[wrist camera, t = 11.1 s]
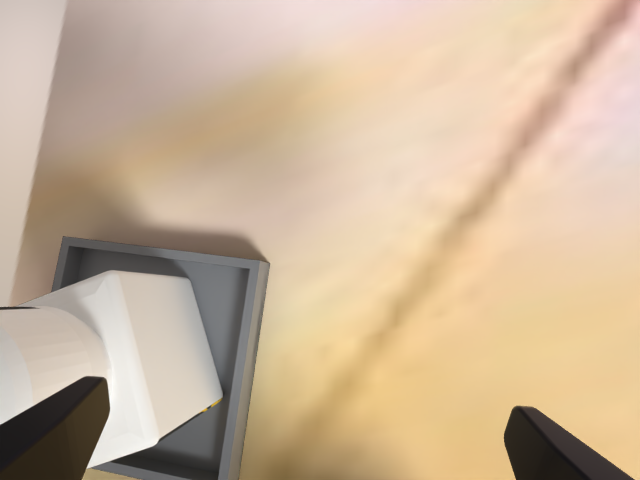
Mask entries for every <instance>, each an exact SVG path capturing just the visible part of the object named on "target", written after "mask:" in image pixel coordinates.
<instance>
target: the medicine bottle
mask: <svg viewBox="0 0 640 480" xmlns="http://www.w3.org/2000/svg"><path fill="white" fill-rule="evenodd" d="M85 376H99V377H104V378H106V380H107V383H108V391H109V400H110V413H109V417H108V420H107V422H106V424H105V427H104V429H103V431H102V434H101V436H100V438H99V441H98V443H97V445H96V448H95V450H94V452H93V454H92V457H91V459H90V461H89V464H88V466H87V468H86V469H88V468H91V467H94V466H97V465H99V464H102V463H105V462H108V461H111V460H114V459H117V458H120V457H123V456H126V455H129V454H132V453H135V452H138V451H141V450H143V449H146V448H149V447H152V446H154V445H156V444H157V443H159V442H160V441H162V440H163V439H165V438H166V437H168V436H169V435H171V434H172V433H174V432H175V431H177V430H178V429H180V428H181V427H183V426H184V425H186V424H187V423H189V422H190V421H191V420H193V419H194V418H196V417H197V416H199V415H200V414H202V413H203V412H205V411H206V410H208V409H209V408H211V407H212V406H214V405H215V404H217V403H218V402H220V401H221V400H222V398H223V391H222V388H221V384H220V381H219V378H218V374H217V371H216V367H215V364H214V360H213V357H212V353H211V350H210V346H209V343H208V340H207V336H206V333H205V329H204V326H203V322H202V319H201V315H200V312H199V308H198V305H197V302H196V298H195V295H194V291H193V288H192V284H191V281H190V280H189V279H188V278H186V277H177V276H166V275H156V274H146V273H136V272H126V271H116V270H110V271H106V272H103V273H101V274H98V275H96V276H93V277H91V278H88V279H85V280H83V281H80V282H78V283H75V284H72V285H70V286H67V287H65V288H62V289H59V290H57V291H54V292H52V293H49V294H46V295H44V296H41V297H39V298H36V299H33V300H31V301H28V302H26V303H23V304H21V305H18V306H15V307H0V425H1V424H2V423H4V422H6V421H8V420H9V419H11V418H13V417H15V416H16V415H18V414H20V413H22V412H23V411H25V410H27V409H28V408H30V407H32V406H34V405H35V404H37V403H39V402H41V401H42V400H44V399H46V398H48V397H49V396H51V395H53V394H55V393H56V392H58V391H60V390H61V389H63V388H65V387H67V386H68V385H70V384H72V383H74V382H75V381H77V380H79V379H81V378H82V377H85Z"/></svg>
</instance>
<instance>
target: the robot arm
mask: <svg viewBox="0 0 640 480" xmlns="http://www.w3.org/2000/svg"><path fill="white" fill-rule="evenodd" d="M109 413H110V400H109V391H108V383H107V380H106V378H104V377H99V376H85V377H82V378H81V379H79V380H77V381H75V382H74V383H72V384H70V385H68V386H67V387H65V388H63V389H61V390H60V391H58V392H56V393H55V394H53V395H51V396H49V397H48V398H46V399H44V400H42V401H41V402H39V403H37V404H35V405H34V406H32V407H30V408H28V409H27V410H25V411H23V412H22V413H20V414H18V415H16V416H15V417H13V418H11V419H9V420H8V421H6V422H4V423H2V424H1V425H0V480H82V478H83V475H84V473H85V471H86V468H87V466H88V464H89V461H90V459H91V457H92V454H93V452H94V450H95V448H96V445H97V443H98V441H99V438H100V436H101V434H102V431H103V429H104V427H105V424H106V422H107V420H108V417H109ZM504 443H505V447H506V450H507V453H508V456H509V459H510V463H511V466H512V469H513V472H514V475H515V478H516V480H634V479H633V478H632V477H630V476H629V475H628V474H626V473H625V472H623V471H622V470H621V469H619V468H618V467H616V466H615V465H614V464H612V463H611V462H610V461H608V460H607V459H605V458H604V457H603V456H601V455H600V454H598V453H597V452H596V451H594V450H593V449H591V448H590V447H589V446H587V445H586V444H585V443H583V442H582V441H580V440H579V439H578V438H576V437H575V436H573V435H572V434H571V433H569V432H568V431H566V430H565V429H564V428H562V427H561V426H560V425H558V424H557V423H555V422H554V421H553V420H551V419H550V418H548V417H547V416H546V415H544V414H543V413H542V412H540V411H539V410H537V409H536V408H534V407H529V406H515V407H514V408H513V409H512V411H511V414H510V417H509V420H508V423H507V426H506V429H505V433H504Z"/></svg>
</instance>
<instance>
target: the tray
mask: <svg viewBox="0 0 640 480" xmlns="http://www.w3.org/2000/svg"><path fill="white" fill-rule="evenodd" d="M269 267H270V263H266V262H263V261H260V260H252V259H243V258H235V257H227V256H219V255H211V254H203V253H195V252H187V251H179V250H170V249H162V248H154V247H146V246H138V245H130V244H122V243H114V242H106V241H97V240H89V239H81V238H73V237H65V236H63V239H62V244H61V249H60V253H59V258H58V263H57V268H56V272H55V277H54V282H53V287H52V291H51V293H52V292H54V291H57V290H59V289H62V288H65V287H67V286H70V285H72V284H75V283H78V282H80V281H83V280H85V279H88V278H91V277H93V276H96V275H98V274H101V273H103V272H106V271H110V270H116V271H126V272H136V273H146V274H156V275H166V276H177V277H186V278H188V279H189V280H190V281H191V284H192V288H193V291H194V295H195V298H196V302H197V305H198V308H199V312H200V315H201V319H202V322H203V326H204V329H205V333H206V336H207V340H208V343H209V346H210V350H211V353H212V357H213V360H214V364H215V367H216V371H217V374H218V378H219V381H220V384H221V388H222V391H223V398H222V400H221V401H220V402H218V403H217V404H215V405H214V406H212V407H211V408H209V409H208V410H206V411H205V412H203V413H202V414H200V415H199V416H197V417H196V418H194V419H193V420H191V421H190V422H189V423H187V424H186V425H184V426H183V427H181V428H180V429H178V430H177V431H175V432H174V433H172V434H171V435H169V436H168V437H166V438H165V439H163V440H162V441H160V442H159V443H157V444H156V445H154V446H152V447H149V448H146V449H143V450H141V451H138V452H135V453H132V454H129V455H126V456H123V457H120V458H117V459H114V460H111V461H108V462H105V463H102V464H99V465H97V466H94V467H91V468H92V469H97V470H101V471H106V472H110V473H115V474H119V475H124V476H128V477H133V478H137V479H142V480H238V479H239V472H240V466H241V459H242V452H243V445H244V438H245V431H246V425H247V418H248V411H249V404H250V397H251V390H252V383H253V377H254V370H255V363H256V356H257V349H258V342H259V335H260V329H261V322H262V315H263V308H264V301H265V294H266V288H267V281H268V274H269Z"/></svg>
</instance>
